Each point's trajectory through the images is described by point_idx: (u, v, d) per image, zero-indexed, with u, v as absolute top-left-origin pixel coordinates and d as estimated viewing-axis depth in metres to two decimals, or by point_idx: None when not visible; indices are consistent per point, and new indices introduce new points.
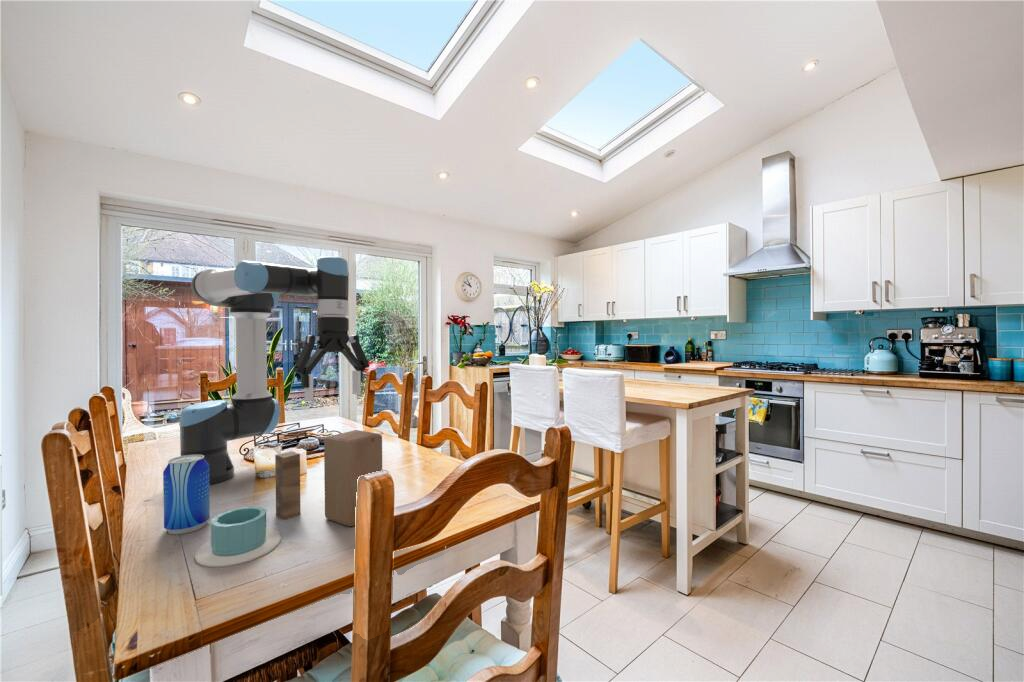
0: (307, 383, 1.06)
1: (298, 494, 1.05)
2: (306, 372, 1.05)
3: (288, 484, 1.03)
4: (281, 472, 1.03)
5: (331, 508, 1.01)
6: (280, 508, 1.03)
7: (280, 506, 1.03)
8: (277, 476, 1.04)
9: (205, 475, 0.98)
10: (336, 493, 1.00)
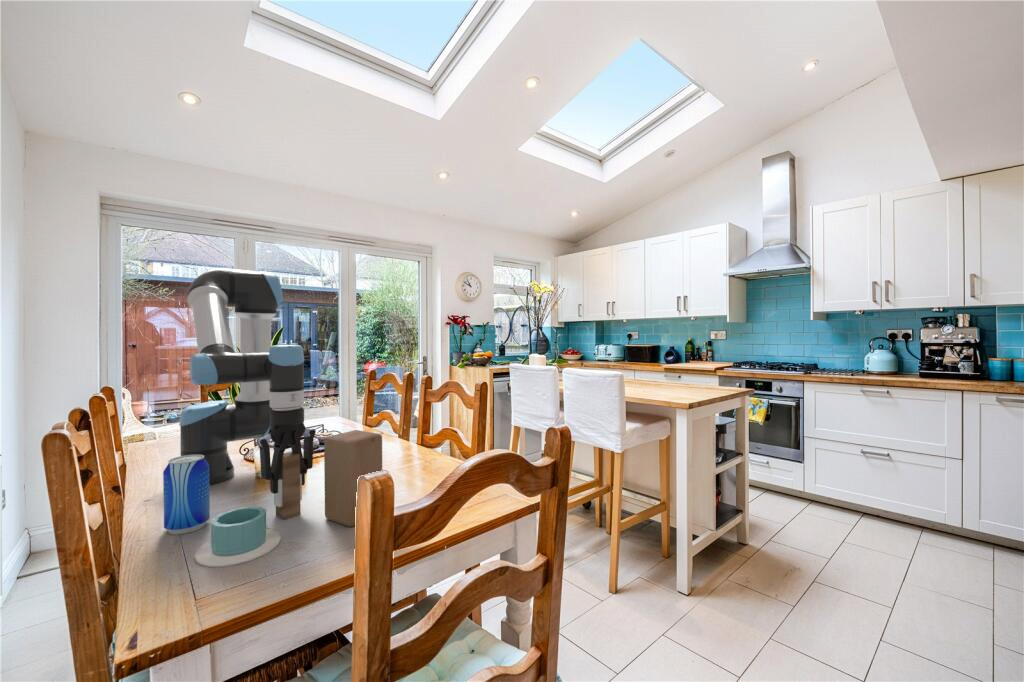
0: (277, 488, 1.02)
1: (298, 494, 1.05)
2: (275, 478, 1.01)
3: (288, 484, 1.03)
4: (281, 472, 1.03)
5: (331, 508, 1.01)
6: (280, 508, 1.03)
7: None
8: None
9: (205, 475, 0.98)
10: (336, 493, 1.00)
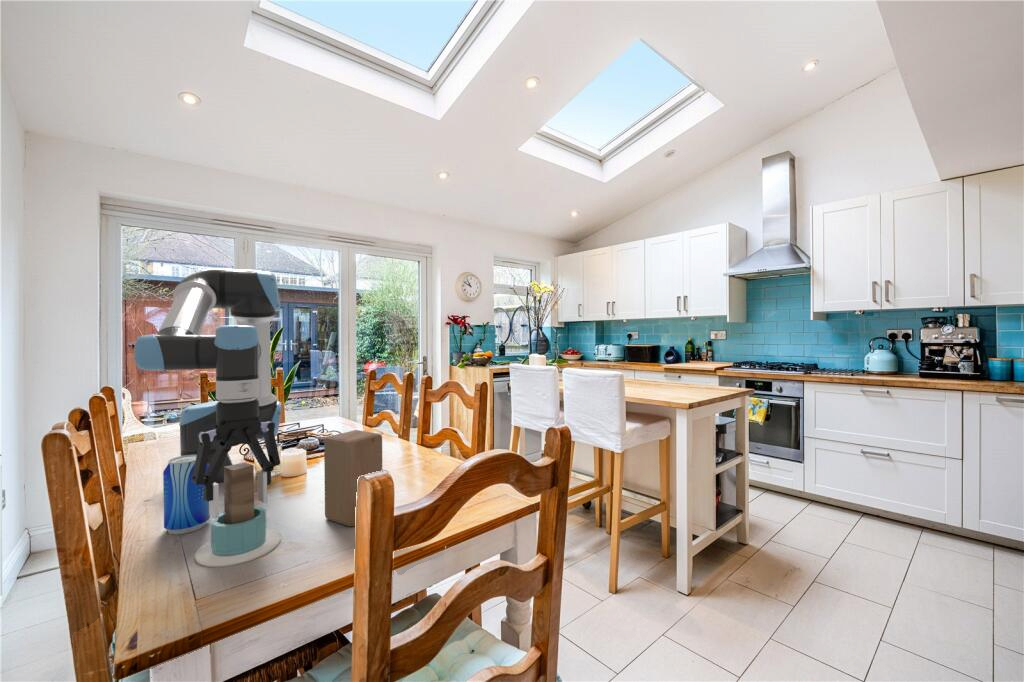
0: (211, 495, 0.84)
1: (251, 513, 0.89)
2: (208, 483, 0.83)
3: (238, 502, 0.87)
4: (230, 488, 0.86)
5: (331, 508, 1.01)
6: None
7: None
8: (226, 492, 0.88)
9: None
10: (336, 493, 1.00)
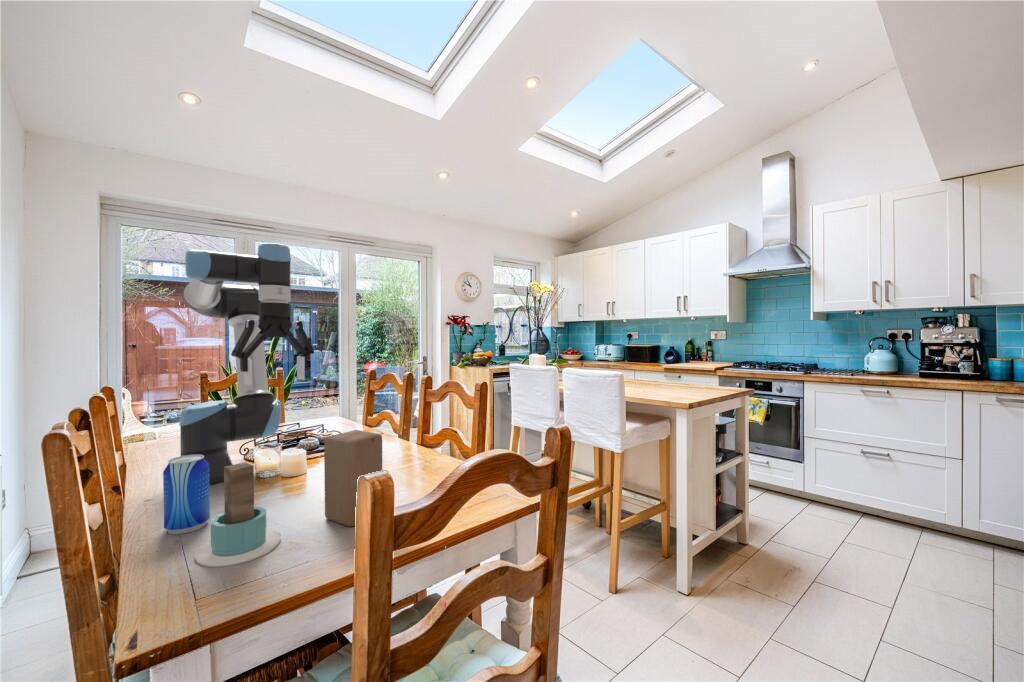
0: (246, 367, 1.07)
1: (251, 513, 0.89)
2: (244, 356, 1.07)
3: (238, 502, 0.87)
4: (230, 488, 0.86)
5: (331, 508, 1.01)
6: None
7: None
8: (226, 492, 0.88)
9: (205, 475, 0.98)
10: (336, 493, 1.00)
